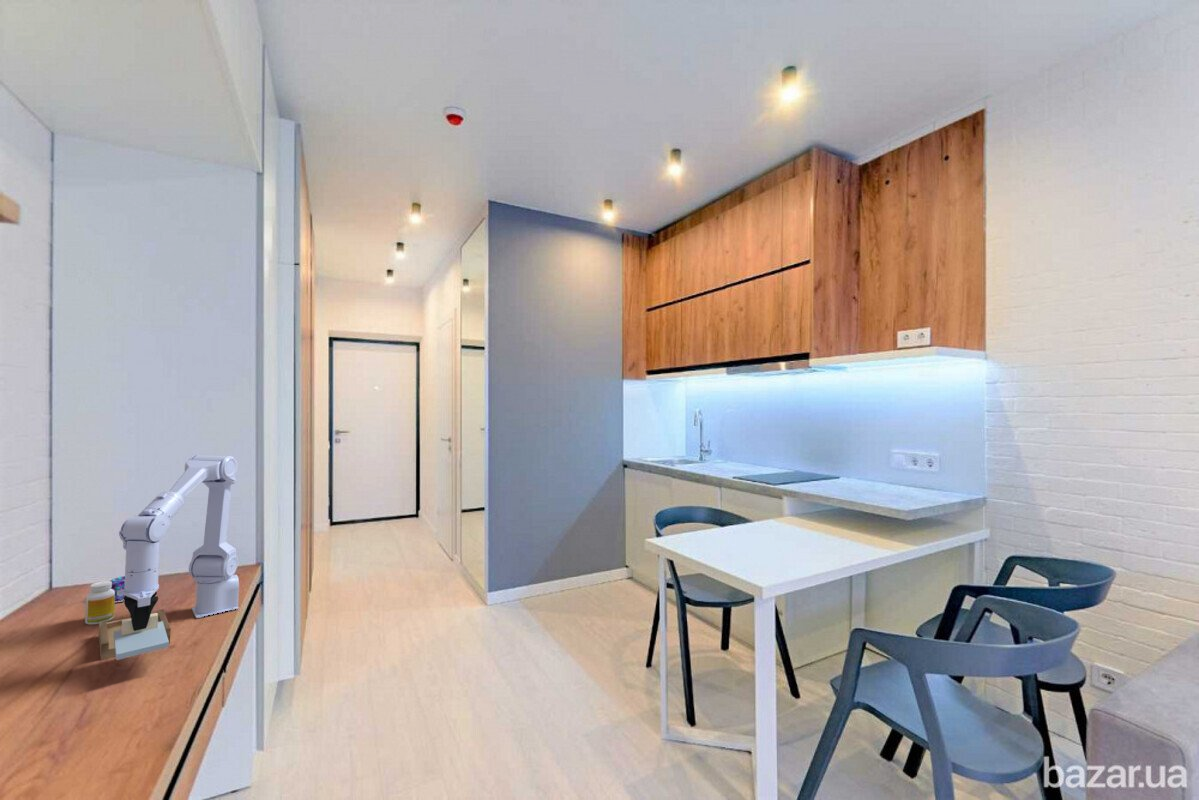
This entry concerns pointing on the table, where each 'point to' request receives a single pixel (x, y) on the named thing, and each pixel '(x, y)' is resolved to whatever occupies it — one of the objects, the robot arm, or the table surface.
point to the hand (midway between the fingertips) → (139, 627)
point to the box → (109, 627)
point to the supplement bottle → (100, 603)
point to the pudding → (118, 587)
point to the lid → (140, 638)
